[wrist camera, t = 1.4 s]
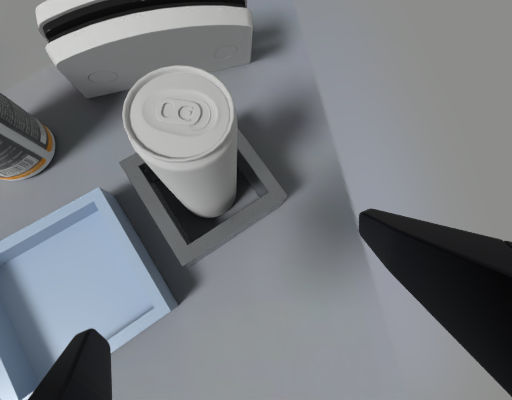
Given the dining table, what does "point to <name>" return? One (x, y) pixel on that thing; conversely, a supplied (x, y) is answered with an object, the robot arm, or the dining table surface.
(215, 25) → the white black arched block
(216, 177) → the beverage can
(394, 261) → the robot arm
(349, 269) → the dining table surface
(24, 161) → the pill bottle
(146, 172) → the short square tube
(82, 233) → the tray
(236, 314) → the dining table surface
